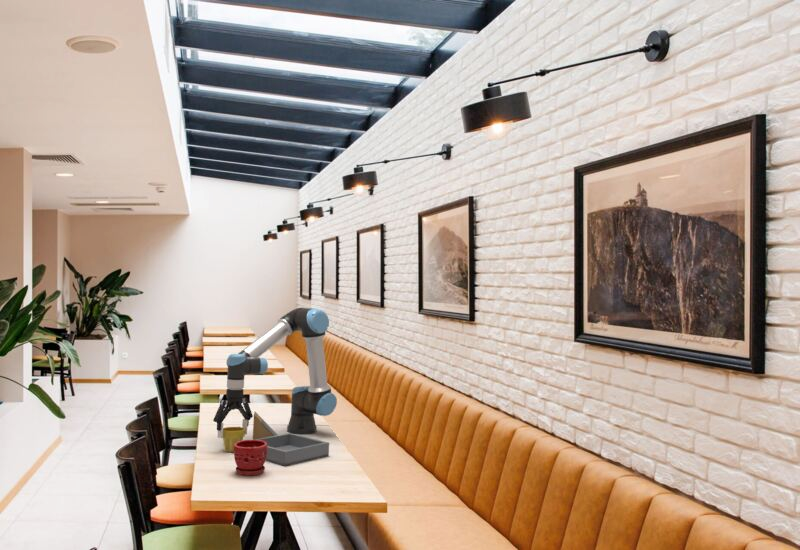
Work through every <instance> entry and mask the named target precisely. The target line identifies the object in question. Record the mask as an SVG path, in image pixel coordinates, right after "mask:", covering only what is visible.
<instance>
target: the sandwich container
mask: <svg viewBox="0 0 800 550" xmlns="http://www.w3.org/2000/svg"><path fill="white" fill-rule="evenodd" d="M252 425H253V427H252V440H255V439H260V438H266V437H271V436H276V435H278V434H277V432H276V431H274V429H273V428H272V427H271V426H270V425H269V424H268V423H267V422H266V421H265V420H264V419H263V418H262V417H261V415H259V413H257V412H256V411H254V413H253V424H252Z"/></svg>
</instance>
